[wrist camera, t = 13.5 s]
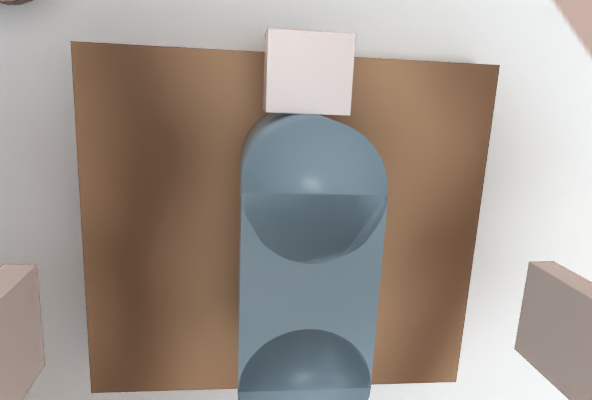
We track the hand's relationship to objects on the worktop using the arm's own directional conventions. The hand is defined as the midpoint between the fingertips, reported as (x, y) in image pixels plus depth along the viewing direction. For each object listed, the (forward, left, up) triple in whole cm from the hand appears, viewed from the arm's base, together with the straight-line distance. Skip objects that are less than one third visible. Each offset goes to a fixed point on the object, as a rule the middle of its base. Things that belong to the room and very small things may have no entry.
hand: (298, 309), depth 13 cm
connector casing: (0, +1, -7) cm, 7 cm away
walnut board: (0, 0, -9) cm, 9 cm away
